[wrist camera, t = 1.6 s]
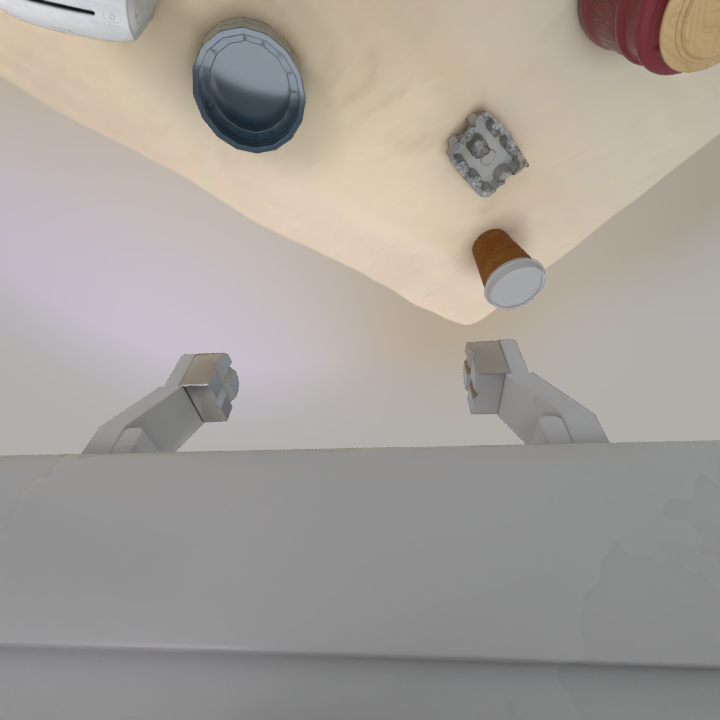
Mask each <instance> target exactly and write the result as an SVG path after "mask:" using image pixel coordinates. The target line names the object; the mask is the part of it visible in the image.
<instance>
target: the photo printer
mask: <svg viewBox="0 0 720 720" xmlns="http://www.w3.org/2000/svg"><path fill="white" fill-rule="evenodd" d="M155 6H156V0H0V8H1V9H2V10H3V11H4V12H5V13H7V14H9V15H11V16H13V17H15V18H18V19H19V20H21V21H24V22H27V23H30V24H33V25H36V26H40V27H43V28H47V29H51V30H55V31H59V32H63V33H67V34H72V35H77V36H82V37H87V38H93V39H98V40H105V41H118V42H128V41H136V40H137V38H138V37H139V36H140V34H141V33H142V31H143V30H144V29H145V27H146V26H147V25H148V23H149V22H150V21H151V20H152V18H153V16H152V12H153V10H154V8H155Z"/></svg>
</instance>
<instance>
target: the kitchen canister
mask: <svg viewBox="0 0 720 720" xmlns="http://www.w3.org/2000/svg"><path fill="white" fill-rule="evenodd" d="M578 9H579V17H580V22H581V25H582V27H583V29H584V31H585V32H586V34H587V35H588V37H589V38H590V39H591V40H592V41H593V42H594V43H595V44H596V45H598V46H600V47H602V48H604V49H606V50H611V51H615V52H617V53H619V54H621V55H623V56H624V57H625V58H626V59H627V60H629V61H630V62H632V63H634V64H637V65H641V66H644V67H645V68H646V69H647V70H649V71H650V72H652V73H655V74H658V75H674V74H679V73H683V72H686V73H689V72H696V71H700V70H704V69H706V68H709V67H711V66H713V65H715V64H717V63H719V62H720V0H579V2H578Z"/></svg>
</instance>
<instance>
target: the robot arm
mask: <svg viewBox="0 0 720 720" xmlns="http://www.w3.org/2000/svg"><path fill="white" fill-rule="evenodd" d="M465 353H466V358H467V359H466V360H465V361H464V368H463V371H464V372H463V373H464V384H465V389H466V390H467V391H468V403H469V407H470V412H471V414H498V416H499V417H500V418H501V419H502V420H503V421H504V422H505V423H506V424H507V425H508V426H509V427H510V428H511V429H512V430H513V431H514V433H515V434H516V435H518V437H519V438H521V440H523V442H524V443H525V444H526V445H480V446H440V447H439V446H438V447H387V448H339V449H293V450H248V451H204V452H203V451H201V452H175V451H176V450H177V449H178V448H180V447H181V446H182V445H183V443H185V442H186V441H187V440H188V439H189V438H190V437H191V436H192V435H193V434H194V433H195V432H196V431H197V430H198V428H200V427H201V426H202V425H203V422H218V421H219V422H221V421H227V419H228V417H229V414H230V411H231V409H232V405H231V402H230V401H232V400H233V399H234V398H235V397H236V396H237V393H238V387H239V381H238V376H237V374H236V371H235V370H233V369H232V368H231V367H230V364H231V359H230V357H229V355H228V354H226V353H213V354H212V353H211V354H185V355H183V356H181V358H180V360H179V361H178V363H177V365H176V367H175V368H174V370H173V372H172V373H171V375H170V377H169V378H168V380H167V382H166V383H165V385H164V387H159V388H157V389H156V390H154V391H153V392H151V393H150V394H148V395H147V396H146V397H144V398H142V399H141V400H139V401H138V402H136V403H135V404H133V405H132V406H130V407H129V408H128V409H126V410H125V411H123V412H121V413H120V414H119V415H117V416H116V417H114V418H113V419H111V420H110V421H108V422H107V423H105V424H104V425H102V426H101V427H99V429H98V430H97V431H96V433H95V434H94V436H93V437H92V439H91V440H90V442H89V443H88V445H87V446H86V448H85V449H84V451H83V452H82V454H61V455H60V454H59V455H13V456H12V455H10V456H0V720H720V440H712V441H668V442H621V443H610V442H609V440H608V438H607V437H606V435H605V433H604V431H603V429H602V427H601V425H600V423H599V421H598V419H597V417H596V415H595V414H594V413H593V412H591V411H590V410H588V409H587V408H585V407H584V406H582V405H581V404H579V403H578V402H576V401H575V400H573V399H572V398H570V397H569V396H567V395H566V394H565V393H563V392H561V391H560V390H559V389H557V388H556V387H554V386H552V385H551V384H550V383H548V382H547V381H545V380H544V379H542V378H541V377H539V376H538V375H536V374H535V373H529V372H528V370H527V367H526V365H525V362H524V360H523V357H522V355H521V352H520V350H519V347H518V345H517V342H516V340H514V339H506V340H498V341H477V342H467V343H466V348H465Z"/></svg>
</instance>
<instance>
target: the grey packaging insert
mask: <svg viewBox="0 0 720 720" xmlns="http://www.w3.org/2000/svg"><path fill="white" fill-rule="evenodd" d="M467 120H468V126H467V129H466V131H465V132H464V133H463V134H461V135H454V134H453V135H452V136H451V137H450V138H449V139H448V142H449V149H448V150H447V152H446V153H447V154H448V156H449V159H450V161H451V163H452V164H453V166H454V167H455V168H456V169H457V171H458V172H459V173H460V174H461V175H462V176H463V178H464V179H465V180H466V181H467V182H468V184H469V185H470V186H471V187H472V188H473V189H474V191H475V192H476V193H477V194H478V195H480V196H481V197H489V196H490V195H491V194H492V193H494V192H496V189H497V188H498V187H500V186H501V185H503V184H504V183H505V179H507V178H508V177H509V176H510V175H511V174H512V175H516V174H517V173H519V172H520V171H521V170H522V169H523V168H525V167H528V166H529V164H528V162H527V161H526V159H525V158H524V156H523V155H522V153H521V152H520V150H519V149H518V147H517V145H516V144H515V142H514V141H513V139H512V138H511V136H510V135H509V133H508V131H507V130H506V129H505V127H504V126H503V125H502V124H501V123H500V122H499V121H497V120H496V119H495V118H494V117H493V116H492V115H491V114H490V113H489V114H488V113H487V112H486V111H483V112H481V113H478V114H476V113H472V114H471V115H470V116H469V117H468V118H467Z"/></svg>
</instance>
